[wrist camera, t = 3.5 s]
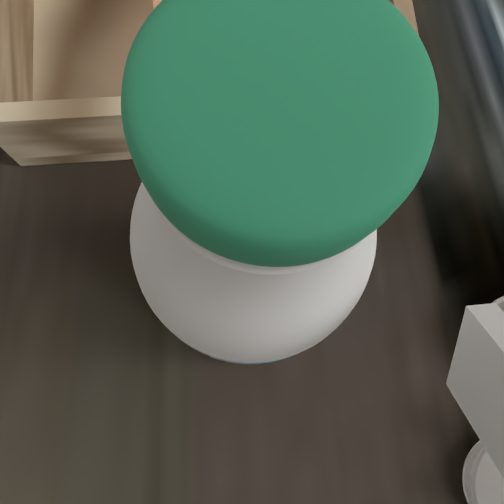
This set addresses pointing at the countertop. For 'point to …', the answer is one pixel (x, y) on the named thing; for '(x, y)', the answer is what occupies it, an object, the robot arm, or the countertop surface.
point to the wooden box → (71, 77)
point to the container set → (482, 470)
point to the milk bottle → (269, 163)
